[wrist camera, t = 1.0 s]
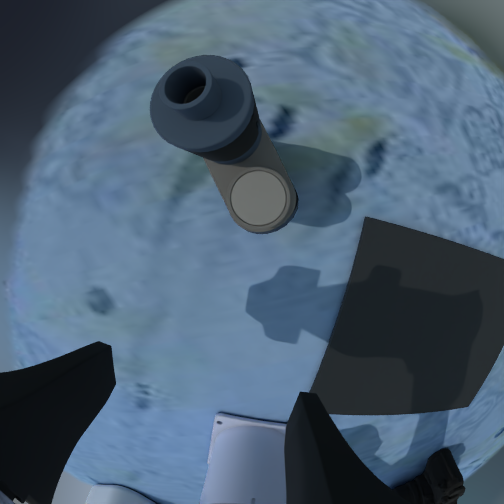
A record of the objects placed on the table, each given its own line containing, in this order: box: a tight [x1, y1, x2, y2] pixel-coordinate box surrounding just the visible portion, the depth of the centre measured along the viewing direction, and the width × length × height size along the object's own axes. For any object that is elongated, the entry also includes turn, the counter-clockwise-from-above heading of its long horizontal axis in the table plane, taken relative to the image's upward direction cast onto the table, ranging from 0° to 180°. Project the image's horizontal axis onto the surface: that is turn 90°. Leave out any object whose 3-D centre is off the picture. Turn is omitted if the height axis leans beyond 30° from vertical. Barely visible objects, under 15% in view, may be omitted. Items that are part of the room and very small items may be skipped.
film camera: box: [393, 448, 465, 504], centre depth 18 cm, size 15×10×9 cm, turn 18°
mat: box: [309, 217, 504, 415], centre depth 17 cm, size 16×20×1 cm
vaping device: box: [150, 55, 299, 234], centre depth 10 cm, size 3×5×12 cm, turn 25°
